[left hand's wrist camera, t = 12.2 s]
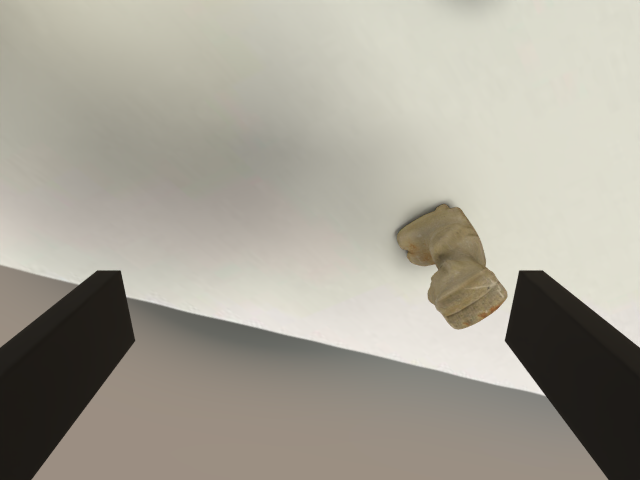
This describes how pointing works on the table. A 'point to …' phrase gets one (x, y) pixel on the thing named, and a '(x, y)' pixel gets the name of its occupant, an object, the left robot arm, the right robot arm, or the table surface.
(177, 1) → the table surface
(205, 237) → the table surface
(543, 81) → the table surface
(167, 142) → the table surface
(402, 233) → the sculpture
